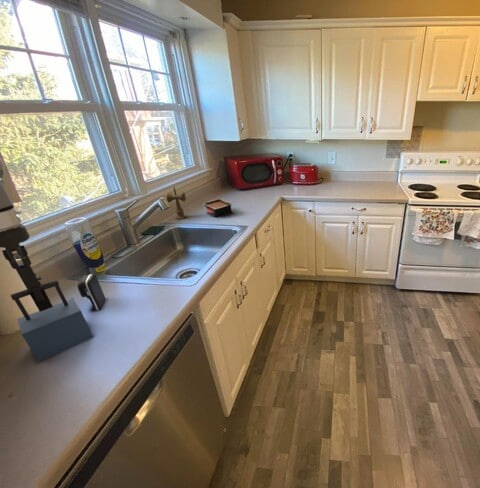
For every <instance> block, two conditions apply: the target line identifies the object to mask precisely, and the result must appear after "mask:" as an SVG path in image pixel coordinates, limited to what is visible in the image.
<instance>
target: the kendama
mask: <svg viewBox="0 0 480 488" xmlns="http://www.w3.org/2000/svg"><path fill="white" fill-rule="evenodd" d="M172 189H173V193H171V192H166V194H165V199H166V201H167V203H172V202H174V200H175V204H176V210H175V213H176V219H177V220H183V219H185V218H186V216H187V215H185V214H184V212H185V211H184V209H183V208H182V206H181V204H180V201H181V202H186V200H187V197H186V193H185V192H184V191H182V192H180V193H179V194H177V191H176V188H175V186H173V187H172Z"/></svg>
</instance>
